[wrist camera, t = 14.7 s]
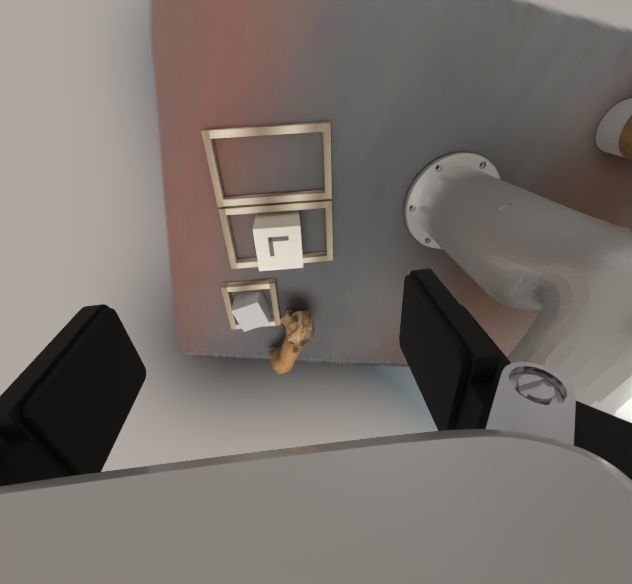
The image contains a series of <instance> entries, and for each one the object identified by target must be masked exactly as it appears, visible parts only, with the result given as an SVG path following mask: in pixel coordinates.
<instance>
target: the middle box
mask: <svg viewBox="0 0 632 584" xmlns="http://www.w3.org/2000/svg"><path fill="white" fill-rule="evenodd" d="M318 208H325V236H326V252H314V253H302V255H303V263H311V262H323V261H333V232H332V200H331V199H321V200H308V201H294V202H280V203H266V204H252V205H239V206H225V207H219V209H218V210H219V215H220V219H221V224H222V228H223V233H224V238H225V242H226V247H227V251H228V256H229V260H230V265H231V269H238V268H250V267H259V266H258V260H257V257H252V258H240V259H237V254H236V249H235V244H234V239H233V234H232V229H231V224H230V219H229V215H237V214H250V213H264V212H277V211H291V210H305V209H318Z"/></svg>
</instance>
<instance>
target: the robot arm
mask: <svg viewBox="0 0 632 584" xmlns="http://www.w3.org/2000/svg"><path fill="white" fill-rule="evenodd" d="M480 163H481V164H480ZM437 165H438V168H436V166H437ZM411 205H412V207H411V208H409V207H410V206H411ZM404 219H405V223H406V226H407V228H408V230H409V232H410V233H411V234H412V236H413V237H414V238H415V239H416V240H417V241H418V242H420V243H421V244H423V245H425V246H427V247H430V248H435V249H443V250H444V251H445V252H446V253H447V254H448V255H449V256H450V257H451V258H452V259H453V260H454V261H455V262H456V263H457V264H458V265H459V266H460V267H461V268H462V269H463V270H464V271H465V272H466V273H467V274H468V275H469V276H470V277H471V278H472V279H473V280H474V281H475V282H476V283H477V284H478V285H479V286H480V287H481V288H482V289H483V290H484V291H485V292H486V293H487V294H488V295H490V296H491V297H492V298H493V299H495V300H496V301H498V302H500V303H501V304H504V305H506V306H509V307H512V308H516V309H522V310H530V311H541V312H540V314H539V316H538V317H537V318H536V320H535V321H534V323H533V324H532V325H531V327H530V328H529V330H528V332H527V333H526V334H525V336H524V337H523V338H522V340H521V341H520V342H519V343H518V345H517V346H516V347H515V348H514V350H513V351H512V352H511V353H510V355H509V356H508V357H506V356H505V355H504V354H503V352H502V351H501V350H500V349H499V348H498V346H497V345H496V344H495V343H494V342H493V341H492V339H491V338H490V337H489V336H488V335H487V333H486V332H485V331H484V330H483V329H482V327H481V326H480V325H479V324H478V323H477V321H476V320H475V319H474V318H473V317H472V315H471V314H470V313H469V312H468V311H467V309H466V308H465V307H463V306H462V305H460V304H459V303H458V302H457V300H456V299H455V298H454V297H453V296H452V294H451V293H450V292H449V291H448V289H447V288H446V287H445V286H444V285H443V283H442V282H441V281H440V280H439V279H438V277H437V276H436V275H435V274H434V272H433V271H432V270H431V269H421V270H412V271H411V273H410V275H407V276H405V280H404V292H403V303H402V314H401V325H400V336H399V341H400V347H401V350H402V352H403V354H404V356H405V358H406V360H407V363H408V365H409V367H410V369H411V371H412V374H413V376H414V378H415V380H416V382H417V385H418V387H419V389H420V391H421V393H422V396H423V398H424V400H425V402H426V404H427V407H428V409H429V411H430V413H431V415H432V418H433V420H434V422H435V424H436V426H437V428H438V431H434V432H424V433H414V434H406V435H395V436H387V437H376V438H368V439H360V440H352V441H343V442H335V443H327V444H319V445H310V446H302V447H294V448H286V449H278V450H269V451H261V452H254V453H246V454H238V455H230V456H222V457H214V458H206V459H198V460H191V461H182V462H175V463H167V464H160V465H151V466H144V467H137V468H129V469H121V470H114V471H106V472H101V470H102V468H103V466H104V464H105V462H106V460H107V458H108V456H109V454H110V451H111V449H112V447H113V445H114V443H115V441H116V439H117V437H118V435H119V433H120V431H121V428H122V426H123V424H124V422H125V420H126V418H127V416H128V414H129V412H130V410H131V408H132V405H133V404H134V401H135V399H136V397H137V395H138V393H139V391H140V389H141V387H142V385H143V383H144V381H145V378H146V369H145V366H144V364H143V363H142V361H141V359H140V357H139V355H138V353H137V351H136V349H135V347H134V345H133V343H132V341H131V340H130V338H129V336H128V334H127V332H126V330H125V328H124V326H123V324H122V322H121V321H120V319H119V317H118V315H117V313H116V311H115V310H114V309H112V308H109V307H108V306H107V305H94V306H86V307H83V308H82V309H81V310H80V311H79V312H78V313H77V314H76V315H75V316H74V317H73V318H72V319H71V321H70V322H69V323H68V324H67V325H66V326H65V327H64V328H63V329H62V330H61V331H60V332H59V333H58V335H57V336H56V337H55V338H54V339H53V340H52V341H51V342H50V343H49V344H48V346H46V348H45V349H44V350H43V351H42V352H41V353H40V354H39V355H38V356H37V357H36V358H35V359H34V361H33V362H32V363H31V364H30V365H29V366H28V367H27V368H26V369H25V370H24V371H23V372H22V374H20V376H19V377H18V378H17V379H16V380H15V381H14V382H13V383H12V384H11V385H10V386H9V388H8V389H7V390H6V391H5V392H4V393H3V394H2V395H1V396H0V584H632V229H630V228H626V227H622V226H619V225H615V224H612V223H609V222H606V221H603V220H601V219H598V218H595V217H592V216H589V215H587V214H584V213H581V212H579V211H576V210H574V209H571V208H569V207H566V206H564V205H561V204H559V203H556V202H554V201H551V200H549V199H547V198H544V197H542V196H539V195H537V194H534V193H532V192H530V191H528V190H526V189H522V188H520V187H517V186H515V185H513V184H510V183H508V182H505V181H503V180H501V179H500V175H499V173H498V171H497V169H496V167H495V166H494V165H493V164H492V163H491V162H490V161H489V160H488V159H486V158H484V157H483V156H481V155H478V154H475V153H469V152H455V153H451V154H448V155H445V156H443V157H441V158H438V159H436V160H435V161H433V162H432V163H431V164H429V165H428V166H427V167H425V168H424V169H423V170H422V171H421V172H420V173H419V175H418V176H417V177H416V179H415V180H414V181H413V183H412V185H411V187H410V189H409V190H408V193H407V196H406V199H405V205H404ZM426 238H427V239H426Z"/></svg>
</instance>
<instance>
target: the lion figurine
mask: <svg viewBox="0 0 632 584" xmlns="http://www.w3.org/2000/svg"><path fill="white" fill-rule="evenodd" d="M292 313H293V311H292V310H291V309H286V310H285V316H284V317H283V318H281V319H280V322H281V323H282V324H284V325H285V329H286V337H285V339H284V341H283V344H282V347H281V352H276V351H275V350H276V348H275V347H274V346H270V347H269V358H270V359H271V362H272V367H273V369H274V370H275V371H276V373H277V374H282V373H286V372H288V371H289V370H291V368H292V367H293V365H294V362H295V360H296V358H297V357H298V355H299V354H300V352H301V350H302V349H303V348H305V347H306V346H307V345H308V344H309V343H310V342H311V340H312V338H313V335H314V324H313V321H312V319H311V318H310V317H309V311H308V310H303V311H298V312H295V313H293V314H292Z"/></svg>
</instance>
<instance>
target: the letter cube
mask: <svg viewBox="0 0 632 584" xmlns="http://www.w3.org/2000/svg"><path fill="white" fill-rule="evenodd" d="M253 235H254V241H255V247H256V254H257V260H258V266H259V271H268V270H281V269H294V268H303V255H302V241H301V227H300V218H299V211H289V212H274V213H260V214H256V216H255V221H254V225H253Z"/></svg>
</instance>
